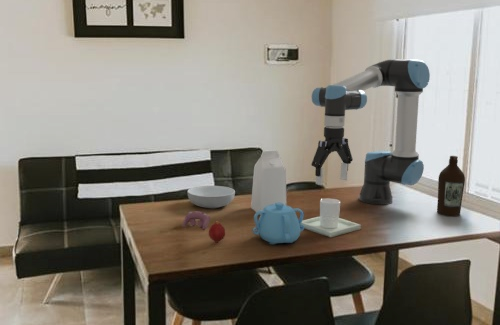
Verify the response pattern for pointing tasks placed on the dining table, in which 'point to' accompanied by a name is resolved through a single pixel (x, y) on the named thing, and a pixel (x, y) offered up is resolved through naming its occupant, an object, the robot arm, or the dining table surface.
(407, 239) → the dining table surface
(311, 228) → the tray
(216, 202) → the serving bowl
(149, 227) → the dining table surface
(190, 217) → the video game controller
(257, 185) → the milk
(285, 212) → the decorative pot
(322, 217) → the white cup
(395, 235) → the dining table surface
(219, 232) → the onion
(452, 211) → the olive oil
